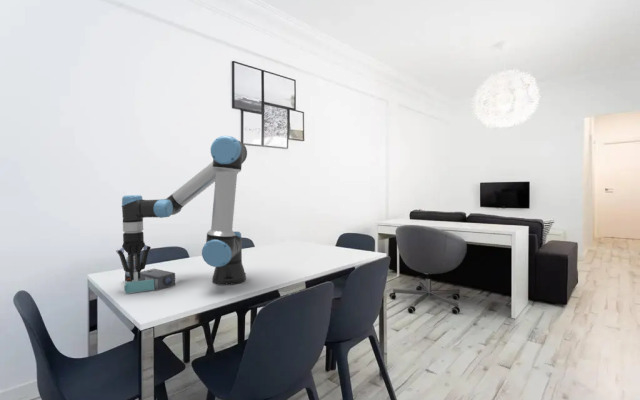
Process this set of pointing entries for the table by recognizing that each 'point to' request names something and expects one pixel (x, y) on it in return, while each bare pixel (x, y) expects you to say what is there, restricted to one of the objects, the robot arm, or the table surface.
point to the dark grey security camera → (159, 277)
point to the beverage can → (128, 272)
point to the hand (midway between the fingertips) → (135, 286)
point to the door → (140, 286)
